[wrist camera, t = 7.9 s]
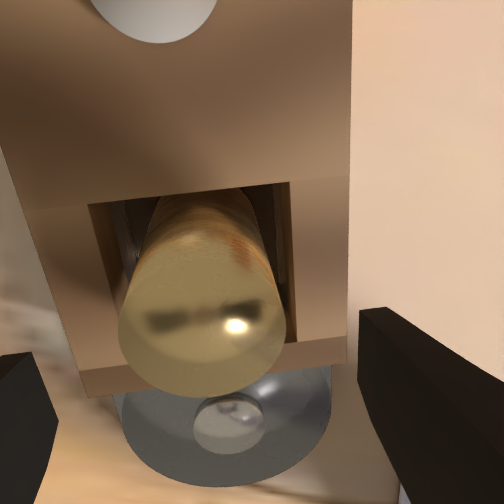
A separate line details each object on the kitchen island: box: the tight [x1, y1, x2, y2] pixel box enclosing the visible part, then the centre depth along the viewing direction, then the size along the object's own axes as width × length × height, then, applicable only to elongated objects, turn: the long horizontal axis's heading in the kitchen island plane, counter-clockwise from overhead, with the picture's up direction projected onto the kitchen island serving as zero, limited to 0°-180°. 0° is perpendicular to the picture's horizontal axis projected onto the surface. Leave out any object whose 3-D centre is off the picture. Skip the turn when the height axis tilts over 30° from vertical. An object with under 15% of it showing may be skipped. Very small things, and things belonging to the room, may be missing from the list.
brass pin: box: [118, 187, 286, 398], centre depth 13 cm, size 4×4×7 cm
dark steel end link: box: [108, 183, 331, 487], centre depth 17 cm, size 16×9×3 cm, turn 5°
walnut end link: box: [0, 0, 353, 398], centre depth 12 cm, size 16×9×5 cm, turn 5°
